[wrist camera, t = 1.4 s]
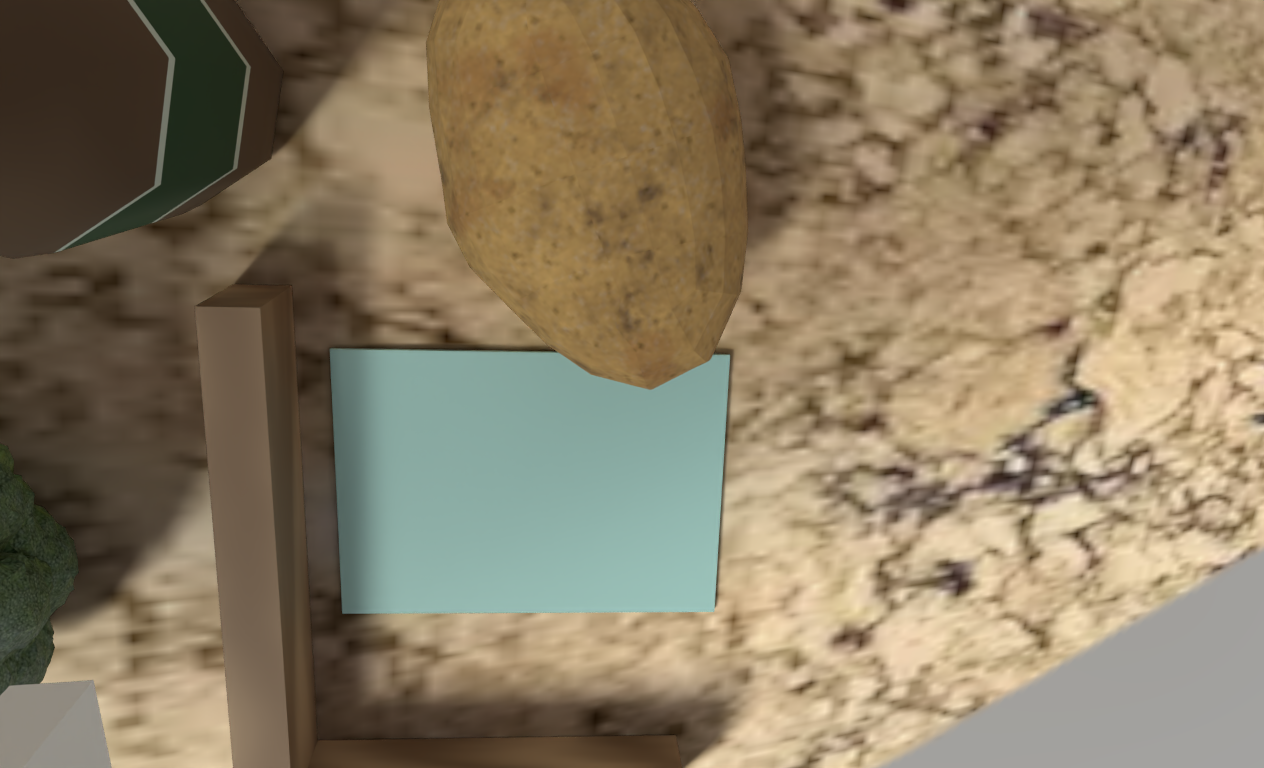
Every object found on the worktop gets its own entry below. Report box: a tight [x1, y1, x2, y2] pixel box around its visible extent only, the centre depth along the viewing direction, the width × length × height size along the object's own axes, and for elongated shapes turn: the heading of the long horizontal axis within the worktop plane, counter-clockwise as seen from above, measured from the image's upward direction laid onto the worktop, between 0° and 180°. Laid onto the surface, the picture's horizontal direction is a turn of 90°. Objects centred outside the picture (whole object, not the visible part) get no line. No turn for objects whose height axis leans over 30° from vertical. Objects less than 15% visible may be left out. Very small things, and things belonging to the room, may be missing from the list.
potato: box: [426, 0, 748, 390], centre depth 32 cm, size 10×14×8 cm
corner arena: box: [195, 284, 682, 768], centre depth 37 cm, size 16×20×4 cm
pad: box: [330, 348, 730, 614], centre depth 38 cm, size 14×10×1 cm
